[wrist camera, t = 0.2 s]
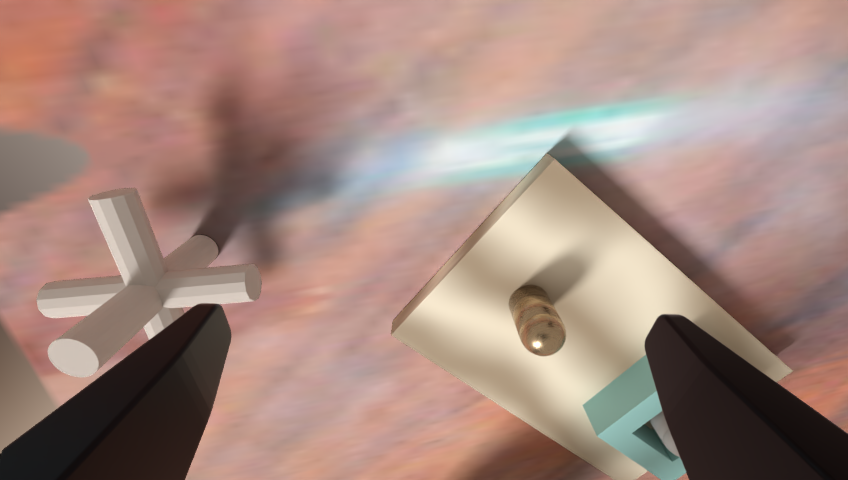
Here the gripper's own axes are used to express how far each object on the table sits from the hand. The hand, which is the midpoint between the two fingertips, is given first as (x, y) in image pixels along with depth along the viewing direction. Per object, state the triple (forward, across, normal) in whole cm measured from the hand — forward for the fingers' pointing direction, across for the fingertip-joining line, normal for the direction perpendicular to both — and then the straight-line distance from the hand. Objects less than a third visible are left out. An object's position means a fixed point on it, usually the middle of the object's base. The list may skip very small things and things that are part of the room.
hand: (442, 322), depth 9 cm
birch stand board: (+12, -11, +15) cm, 22 cm away
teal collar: (+10, -16, +18) cm, 26 cm away
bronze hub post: (+12, -6, +11) cm, 17 cm away
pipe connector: (+14, +13, +9) cm, 21 cm away
